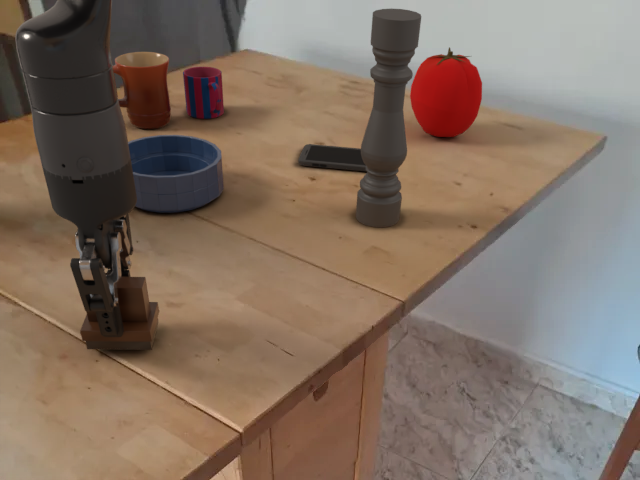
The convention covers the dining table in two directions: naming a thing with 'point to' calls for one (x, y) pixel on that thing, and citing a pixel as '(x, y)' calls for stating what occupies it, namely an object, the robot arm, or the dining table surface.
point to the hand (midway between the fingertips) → (118, 317)
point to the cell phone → (332, 157)
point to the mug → (145, 88)
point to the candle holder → (387, 116)
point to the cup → (203, 92)
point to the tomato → (446, 94)
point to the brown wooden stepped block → (126, 319)
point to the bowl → (175, 172)
